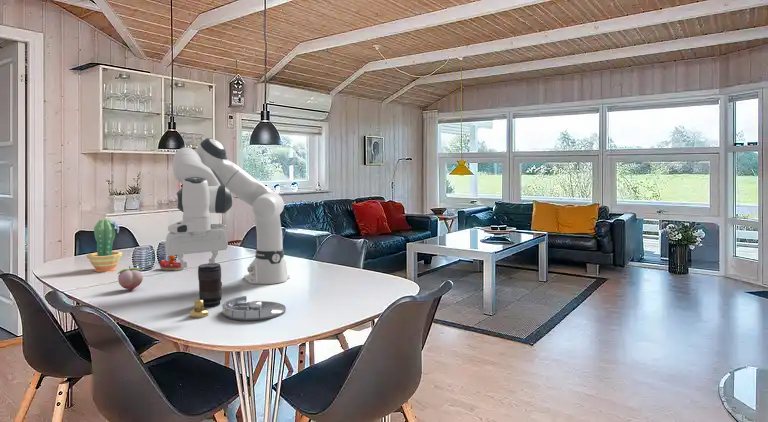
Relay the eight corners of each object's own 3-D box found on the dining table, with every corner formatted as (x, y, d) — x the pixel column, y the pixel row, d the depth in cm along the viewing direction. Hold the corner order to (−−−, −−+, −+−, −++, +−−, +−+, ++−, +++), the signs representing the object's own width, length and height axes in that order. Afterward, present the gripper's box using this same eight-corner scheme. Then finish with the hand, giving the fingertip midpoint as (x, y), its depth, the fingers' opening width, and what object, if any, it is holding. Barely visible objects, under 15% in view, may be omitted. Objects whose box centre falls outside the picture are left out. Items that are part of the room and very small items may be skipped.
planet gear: (187, 315, 176) (186, 299, 176) (204, 312, 180) (204, 297, 179) (193, 319, 172) (192, 303, 171) (210, 316, 175) (210, 300, 175)
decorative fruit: (138, 286, 217) (137, 263, 216) (146, 289, 211) (145, 266, 210) (114, 290, 210) (113, 266, 209) (121, 293, 204) (120, 269, 204)
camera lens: (202, 302, 193) (201, 262, 192) (224, 301, 194) (223, 262, 192) (196, 308, 185) (195, 267, 183) (219, 307, 186) (218, 266, 184)
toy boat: (165, 267, 257) (164, 252, 256) (187, 268, 255) (186, 253, 255) (156, 270, 249) (156, 255, 249) (179, 271, 248) (178, 256, 247)
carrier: (213, 310, 182) (212, 301, 181) (268, 300, 195) (268, 291, 195) (238, 325, 165) (237, 315, 164) (297, 313, 178) (297, 304, 178)
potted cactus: (112, 273, 242) (110, 221, 240) (80, 273, 243) (77, 220, 240) (129, 266, 258) (127, 217, 256) (98, 266, 258) (96, 217, 256)
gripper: (223, 222, 182) (224, 260, 183) (163, 226, 169) (164, 267, 170) (230, 224, 177) (231, 263, 178) (168, 228, 164) (170, 270, 165)
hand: (198, 265), depth 174 cm, fingers open, 8 cm apart
